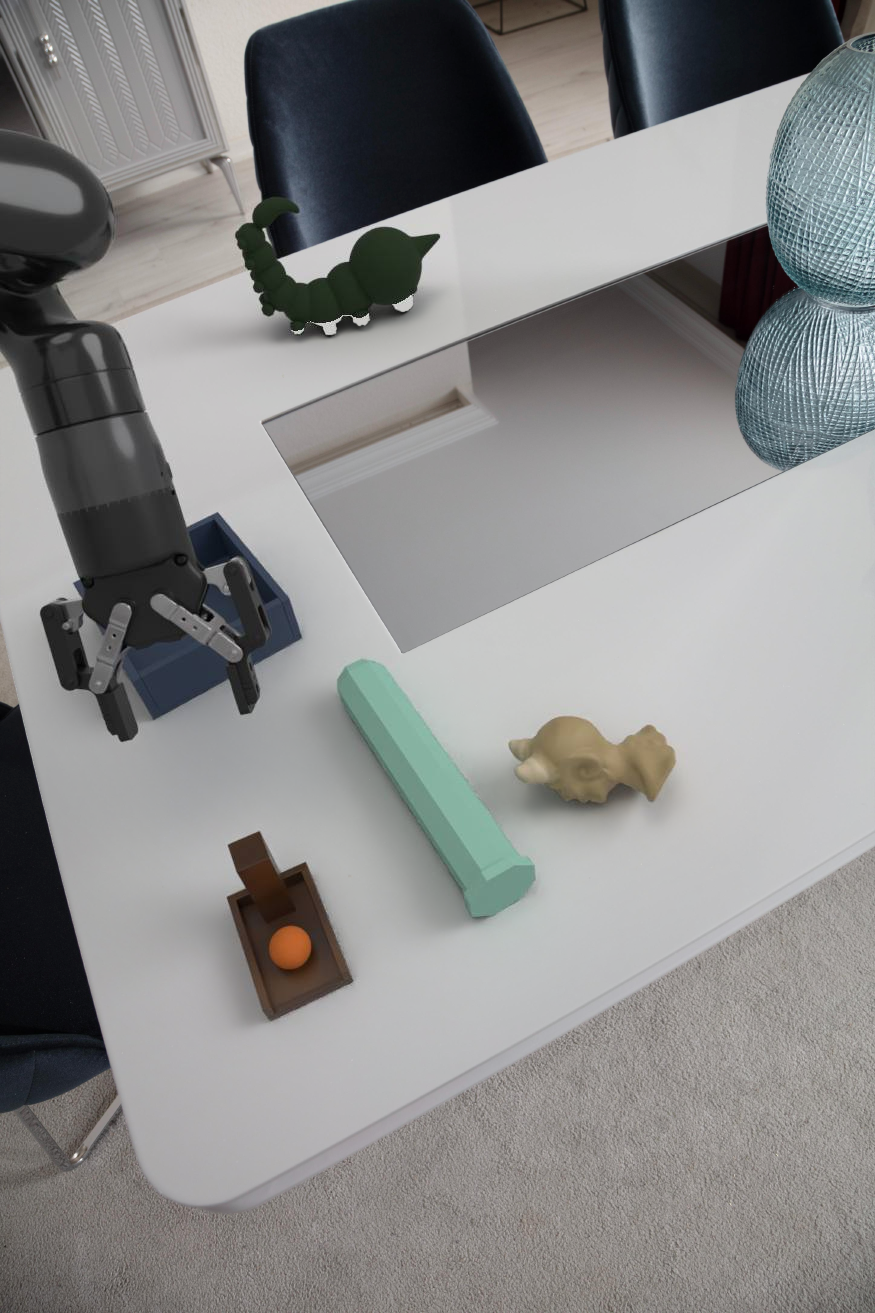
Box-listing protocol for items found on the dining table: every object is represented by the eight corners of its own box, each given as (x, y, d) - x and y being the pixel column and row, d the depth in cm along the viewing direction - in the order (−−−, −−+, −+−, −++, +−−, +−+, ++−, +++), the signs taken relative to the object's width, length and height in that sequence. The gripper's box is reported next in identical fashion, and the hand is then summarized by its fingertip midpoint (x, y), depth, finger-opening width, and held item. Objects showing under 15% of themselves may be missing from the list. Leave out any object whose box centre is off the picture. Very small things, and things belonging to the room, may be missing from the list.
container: (329, 651, 79) (480, 877, 64) (390, 641, 82) (547, 854, 67) (319, 702, 83) (459, 927, 67) (377, 691, 86) (524, 904, 70)
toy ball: (286, 984, 66) (276, 969, 64) (267, 951, 68) (257, 935, 66) (322, 959, 67) (314, 944, 65) (302, 927, 69) (294, 911, 67)
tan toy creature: (686, 776, 68) (527, 749, 67) (655, 844, 72) (504, 820, 70) (665, 708, 75) (520, 683, 73) (637, 774, 78) (500, 751, 77)
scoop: (353, 981, 67) (329, 930, 60) (270, 1021, 65) (235, 973, 59) (311, 874, 72) (285, 815, 66) (233, 908, 71) (198, 852, 64)
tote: (154, 720, 84) (132, 682, 80) (95, 621, 93) (72, 582, 89) (302, 638, 89) (289, 597, 84) (232, 551, 98) (217, 511, 93)
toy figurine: (281, 367, 123) (460, 310, 123) (229, 229, 108) (432, 164, 108) (272, 332, 129) (443, 277, 129) (221, 196, 114) (414, 135, 114)
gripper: (-17, 527, 57) (71, 767, 61) (207, 473, 56) (280, 720, 60) (33, 512, 64) (108, 728, 68) (232, 464, 63) (295, 685, 67)
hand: (189, 724), depth 64 cm, fingers open, 8 cm apart
